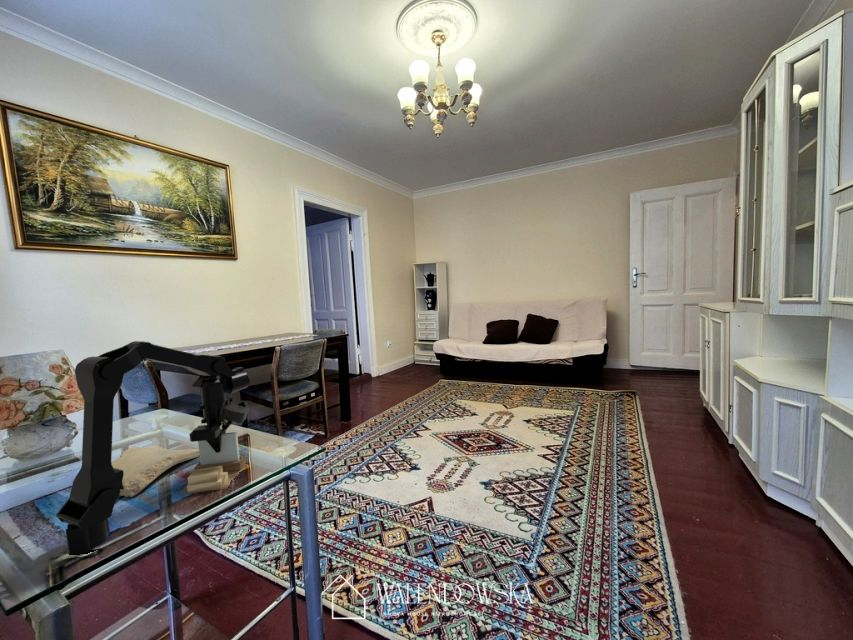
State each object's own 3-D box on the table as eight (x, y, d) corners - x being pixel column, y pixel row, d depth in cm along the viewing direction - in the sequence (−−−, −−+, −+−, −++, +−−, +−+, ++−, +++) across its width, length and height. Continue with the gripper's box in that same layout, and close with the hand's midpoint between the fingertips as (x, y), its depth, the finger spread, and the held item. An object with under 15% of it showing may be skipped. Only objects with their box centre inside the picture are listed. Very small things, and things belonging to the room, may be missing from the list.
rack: (230, 491, 93) (228, 479, 92) (179, 498, 91) (177, 485, 90) (247, 465, 106) (246, 453, 106) (203, 470, 104) (202, 458, 104)
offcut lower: (221, 488, 93) (220, 481, 92) (187, 492, 91) (187, 485, 91) (228, 478, 97) (227, 471, 97) (196, 482, 96) (195, 475, 96)
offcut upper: (217, 481, 93) (216, 473, 92) (188, 485, 91) (187, 478, 91) (222, 472, 97) (222, 465, 97) (194, 476, 95) (194, 469, 95)
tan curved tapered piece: (70, 503, 92) (135, 500, 89) (65, 475, 92) (130, 471, 89) (154, 460, 116) (208, 456, 113) (151, 438, 116) (204, 433, 113)
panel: (238, 466, 103) (235, 433, 102) (201, 471, 101) (197, 437, 100) (240, 464, 104) (236, 431, 103) (203, 468, 102) (199, 435, 101)
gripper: (232, 407, 92) (237, 463, 94) (254, 386, 111) (258, 434, 112) (185, 411, 91) (192, 468, 92) (215, 390, 109) (220, 438, 110)
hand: (219, 451), depth 102 cm, fingers closed on panel, 1 cm apart
